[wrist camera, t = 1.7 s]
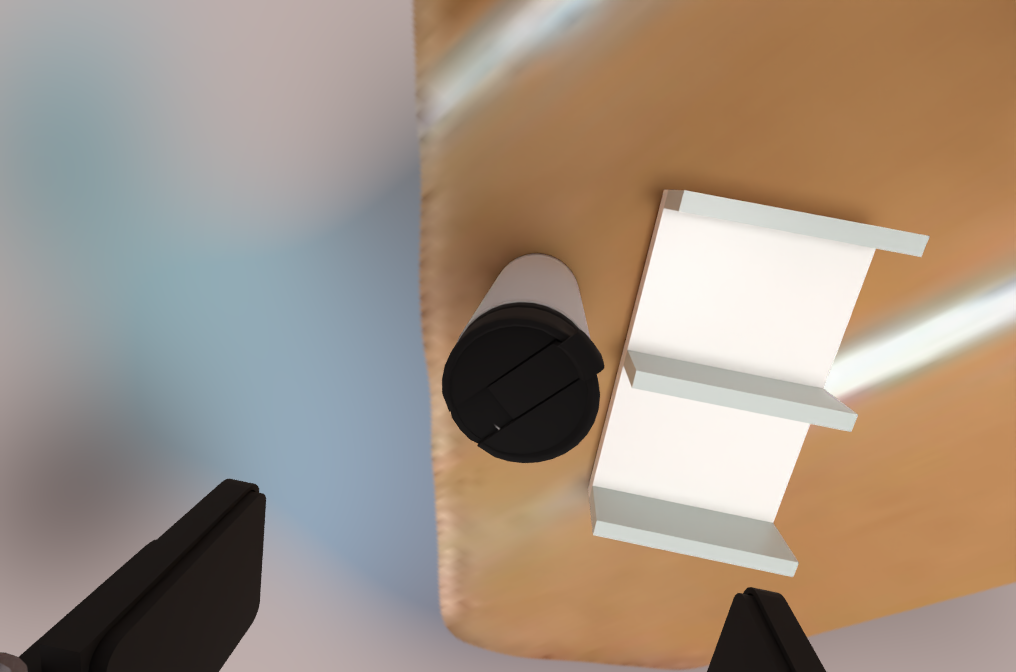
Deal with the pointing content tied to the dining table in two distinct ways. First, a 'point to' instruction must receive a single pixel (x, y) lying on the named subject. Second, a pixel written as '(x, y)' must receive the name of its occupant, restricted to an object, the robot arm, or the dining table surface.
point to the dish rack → (728, 374)
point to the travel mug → (526, 365)
